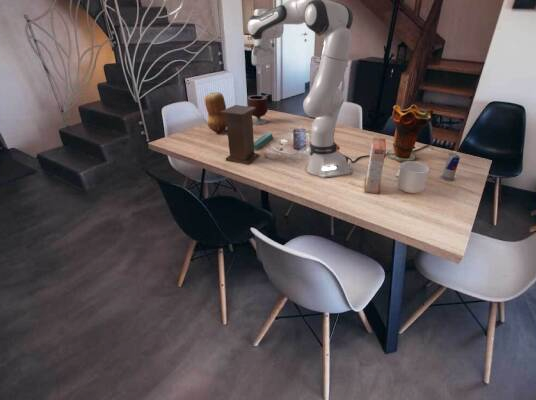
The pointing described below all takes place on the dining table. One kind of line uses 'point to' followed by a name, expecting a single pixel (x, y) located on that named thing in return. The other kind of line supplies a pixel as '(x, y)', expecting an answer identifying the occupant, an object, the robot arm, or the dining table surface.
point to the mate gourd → (258, 108)
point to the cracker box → (375, 165)
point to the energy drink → (450, 166)
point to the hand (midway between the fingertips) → (263, 72)
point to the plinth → (240, 134)
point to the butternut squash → (216, 112)
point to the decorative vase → (407, 131)
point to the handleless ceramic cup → (412, 176)
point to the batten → (262, 141)
